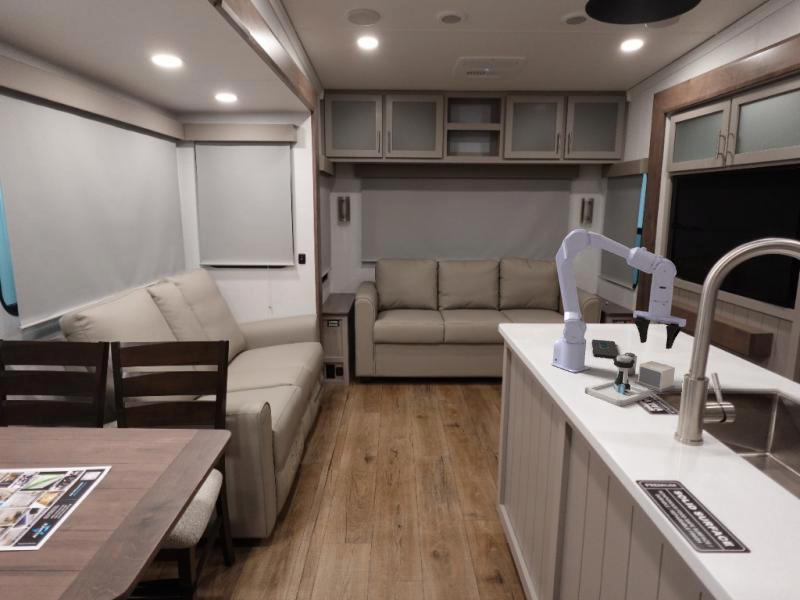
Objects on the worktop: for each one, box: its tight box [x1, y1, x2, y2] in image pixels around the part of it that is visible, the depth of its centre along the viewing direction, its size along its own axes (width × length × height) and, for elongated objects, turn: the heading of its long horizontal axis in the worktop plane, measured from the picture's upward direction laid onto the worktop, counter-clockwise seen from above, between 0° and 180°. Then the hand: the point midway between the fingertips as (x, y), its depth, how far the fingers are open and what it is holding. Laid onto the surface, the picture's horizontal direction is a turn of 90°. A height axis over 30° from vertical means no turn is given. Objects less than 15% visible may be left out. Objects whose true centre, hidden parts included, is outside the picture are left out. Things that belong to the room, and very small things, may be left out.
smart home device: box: [591, 339, 619, 360], centre depth 177 cm, size 8×2×20 cm
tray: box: [584, 379, 651, 407], centre depth 135 cm, size 11×13×2 cm
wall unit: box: [634, 360, 676, 393], centre depth 142 cm, size 8×7×6 cm
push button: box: [612, 354, 635, 395], centre depth 135 cm, size 7×5×10 cm
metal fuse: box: [622, 352, 638, 378], centre depth 152 cm, size 4×4×7 cm
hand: (655, 345), depth 147 cm, fingers open, 7 cm apart
